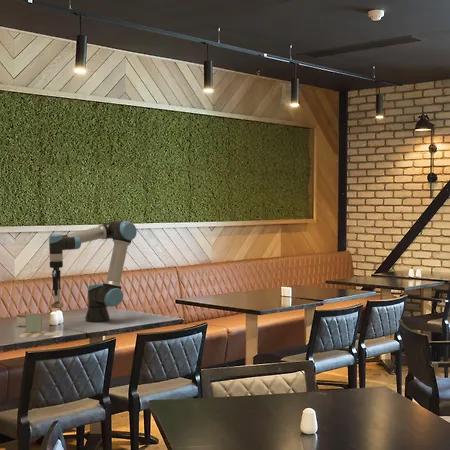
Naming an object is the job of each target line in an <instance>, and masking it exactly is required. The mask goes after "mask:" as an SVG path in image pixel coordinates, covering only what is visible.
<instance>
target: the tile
mask: <svg viewBox="0 0 450 450" xmlns="http://www.w3.org/2000/svg"><path fill="white" fill-rule="evenodd" d="M25 331H26V333H42V331H43V312H41V313H39V312H37V313H36V312H27V313H26V327H25Z"/></svg>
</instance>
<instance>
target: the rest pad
mask: <svg viewBox="0 0 450 450" xmlns="http://www.w3.org/2000/svg"><path fill="white" fill-rule="evenodd" d="M60 335H62V331H61V332H60V331H56V332H55V331H54V332H47V331H46V332H45V333H44V334H42V336H44V337H45V336H49V337H51V336H53V337H55V336H60Z"/></svg>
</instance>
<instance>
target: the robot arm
mask: <svg viewBox="0 0 450 450" xmlns="http://www.w3.org/2000/svg"><path fill="white" fill-rule="evenodd" d="M137 231H138V230H137V226H135V224H134V223H133V222H132V221H127V220H113V221H109V222H106V223H105V222H104V223H102V224H99V225H98V226H97V227H92V228H88V229H87V228H86V229H85V230H80V231H74V232H70V233H67V234H60V233H59V234H54V233H53V234H50V235H49V239H48V243H49V244H48V248H49V249H48V250H49V251H48V252H49V255H48V257H49V268H51V269H52V272H51V276H52V289H51V290H52V291H53V301H59V302H60V301H61V291H60V290H62V287H61V273H62V272H61V270H60V269H61V268H63V267H64V262H63V259H64V257H63V256H64V255H63V251H70V250H79V249H81V246H82V244H83V243H87V242H93V241H96V240H106V239H107V240H109V239H110V240H112V242H113V247H112V253H111V257H110V261H109V267H108V271H107V276H106V280H105V281H104V282H103V283H99V284H97V283H96V284H89V285H88V287H87V311H86V314H85V319H84V320H85V321H86V322H89V323H103V322H104V323H105V322H108V321H110V314H109V311H108V307H109V308H111V307H112V308H113V307H114V308H115V307H118V306H119V305H120V304H122V302H123V298H124V293H123V291H122V285H121V279H122V276H123V275H122V274H123V270H124V265H125V262H126V261H125V260H126V256H127V251H128V247H129V246H130V245H132V240H133V241H134V239H135V238H136V237H137ZM58 279H59V290H58Z"/></svg>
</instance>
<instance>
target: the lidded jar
mask: <svg viewBox="0 0 450 450" xmlns="http://www.w3.org/2000/svg"><path fill="white" fill-rule="evenodd" d="M26 313H28V312H27V311H24V312H20V313H16V322H17V324H18V326H20V327H22V328H26Z"/></svg>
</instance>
